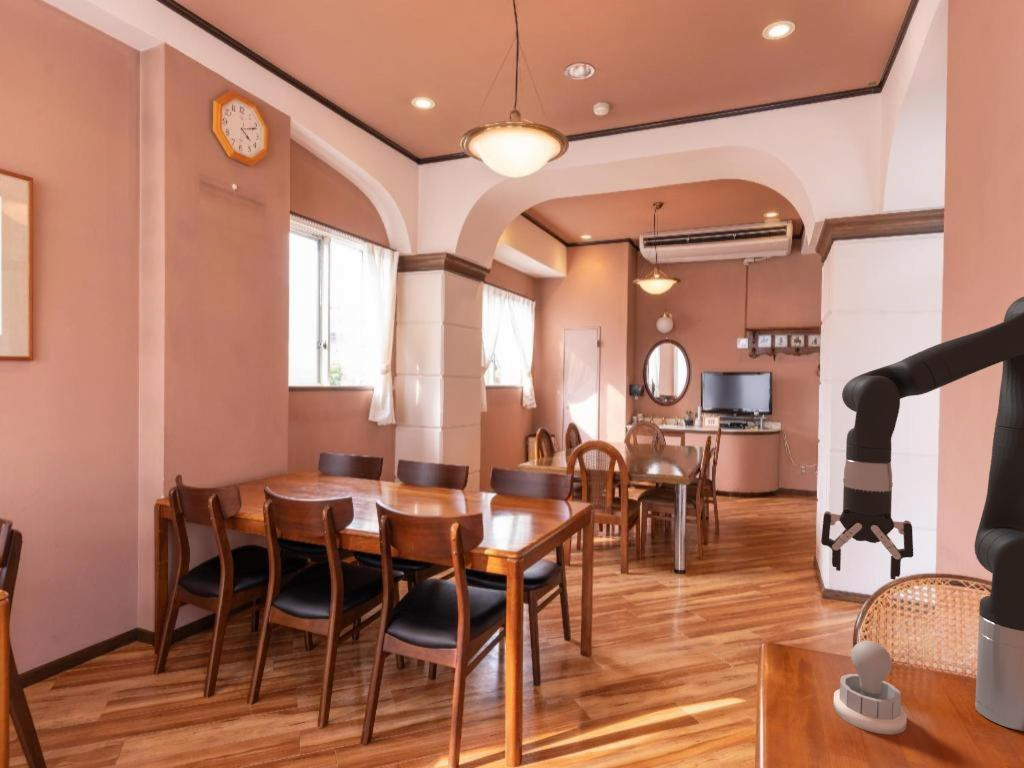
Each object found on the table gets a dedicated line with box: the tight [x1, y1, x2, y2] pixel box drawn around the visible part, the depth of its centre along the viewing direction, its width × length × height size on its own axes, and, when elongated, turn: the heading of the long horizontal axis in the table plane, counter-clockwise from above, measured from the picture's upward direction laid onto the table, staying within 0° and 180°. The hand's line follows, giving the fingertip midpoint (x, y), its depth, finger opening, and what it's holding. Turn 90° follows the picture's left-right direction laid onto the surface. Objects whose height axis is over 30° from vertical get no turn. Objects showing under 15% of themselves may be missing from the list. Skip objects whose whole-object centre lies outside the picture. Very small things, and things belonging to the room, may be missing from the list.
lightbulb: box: [850, 640, 893, 699], centre depth 104 cm, size 6×6×11 cm
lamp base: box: [832, 673, 908, 736], centre depth 104 cm, size 11×11×5 cm
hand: (864, 573), depth 107 cm, fingers open, 8 cm apart
